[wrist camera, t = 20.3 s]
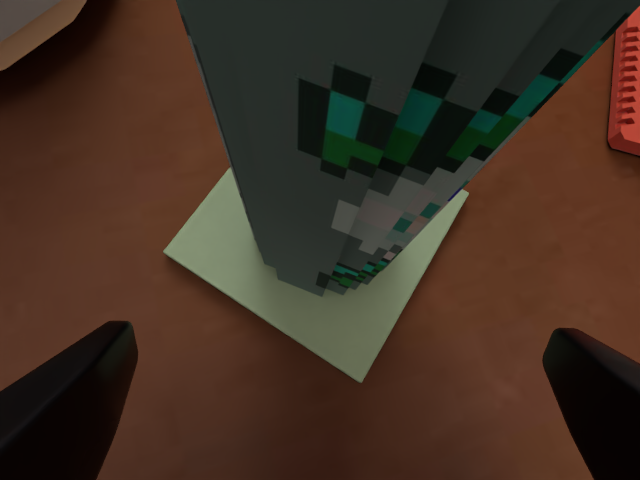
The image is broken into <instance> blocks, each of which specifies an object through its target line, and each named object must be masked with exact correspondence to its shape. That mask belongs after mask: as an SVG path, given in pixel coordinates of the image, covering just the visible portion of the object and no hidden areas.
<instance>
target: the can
mask: <svg viewBox="0 0 640 480" xmlns="http://www.w3.org/2000/svg"><path fill="white" fill-rule="evenodd" d="M176 2H177V5H178V8H179V11H180V14H181V17H182V20H183V23H184V26H185V29H186V32H187V36H188V39H189V42H190V45H191V48H192V51H193V54H194V57H195V60H196V63H197V66H198V69H199V72H200V75H201V78H202V81H203V84H204V87H205V90H206V93H207V97H208V100H209V103H210V106H211V109H212V112H213V115H214V118H215V121H216V124H217V127H218V130H219V133H220V136H221V139H222V142H223V145H224V148H225V151H226V154H227V158H228V161H229V164H230V167H231V170H232V173H233V176H234V179H235V182H236V185H237V188H238V191H239V194H240V197H241V200H242V203H243V206H244V209H245V212H246V215H247V218H248V222H249V225H250V228H251V231H252V234H253V237H254V240H255V241H256V243H257V246H258V249H259V252H261V255H262V258H263V261H264V264H266V265H269V266H271V267H274V268H276V272H277V277H278V280H281V281H283V282H286V283H288V284H291V285H293V286H296V287H298V288H301V289H303V290H306V291H308V292H311V293H313V294H316V295H318V296H321V297H322V296H323V294H324V291H325V289H328V290H331V291H333V292H336V293H338V294H341V295H344V294H345V292H346V291H347V289H348V288H351V289H354V290H356V289H357V287H358V286H359V285H360V284H361V283H363V284H366V285H368V284H369V283H370V282H371V280H372V279H373V278H374V277H375V276H376V275H377V274H378V273H379V272H380V271H383V270H384V269H385V268H386V267H387V266H388V265H389V264H390V263H391V262H392V261H393V260H394V259H395V258H396V257H397V256H398V254H399V253H400V252H401V251H402V250H403V249H404V248H405V247H406V246H407V245H408V244H409V243H410V242H411V241H412V240H413V239H414V238H415V237H416V236H417V235H418V234H419V233H420V232H421V231H422V230H423V229H424V228H425V227H426V226H427V225H428V224H429V223H430V221H431V220H432V219H433V218H434V217H435V216H436V215H437V214H438V213H439V212H440V211H441V210H442V209H443V208H444V207H445V206H446V205H447V204H448V203H449V202H450V201H451V200H452V199H453V198H454V197H455V196H456V195H457V194H458V193H459V192H460V191H461V190H462V188H463V187H464V186H465V185H466V184H467V183H468V182H469V181H470V180H471V179H472V178H473V177H474V176H475V175H476V174H477V173H478V172H479V171H480V170H481V169H482V168H483V167H484V166H485V165H486V164H487V163H488V162H489V161H490V160H491V159H492V158H493V157H494V156H495V154H496V153H497V152H498V151H499V150H500V149H501V148H502V147H503V146H504V145H505V144H506V143H507V142H508V141H509V140H510V139H511V138H512V137H513V136H514V135H515V134H516V133H517V132H518V131H519V130H520V129H521V128H522V127H523V126H524V125H525V124H526V123H527V121H528V120H529V119H530V118H531V117H532V116H533V115H534V114H535V113H536V112H537V111H538V110H539V109H540V108H541V107H542V106H543V105H544V104H545V103H546V102H547V101H548V100H549V99H550V98H551V97H552V96H553V95H554V94H555V93H556V92H557V91H558V90H559V88H560V87H561V86H562V85H563V84H564V83H565V82H566V81H567V80H568V79H569V78H570V77H571V76H572V75H573V74H574V73H575V72H576V71H577V70H578V69H579V68H580V67H581V66H582V65H583V64H584V63H585V62H586V61H587V60H588V59H589V58H590V57H591V56H592V54H593V53H594V52H595V51H596V50H597V49H598V48H599V47H600V46H601V45H602V44H603V43H604V42H605V41H606V40H607V39H608V38H609V37H610V36H611V35H612V34H613V33H614V32H615V31H616V30H617V29H618V28H619V27H620V26H621V25H622V24H623V23H624V21H625V20H626V19H627V18H628V17H629V16H630V15H631V14H632V13H633V12H634V11H635V10H636V9H637V8H638V7H639V6H640V0H176Z"/></svg>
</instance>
